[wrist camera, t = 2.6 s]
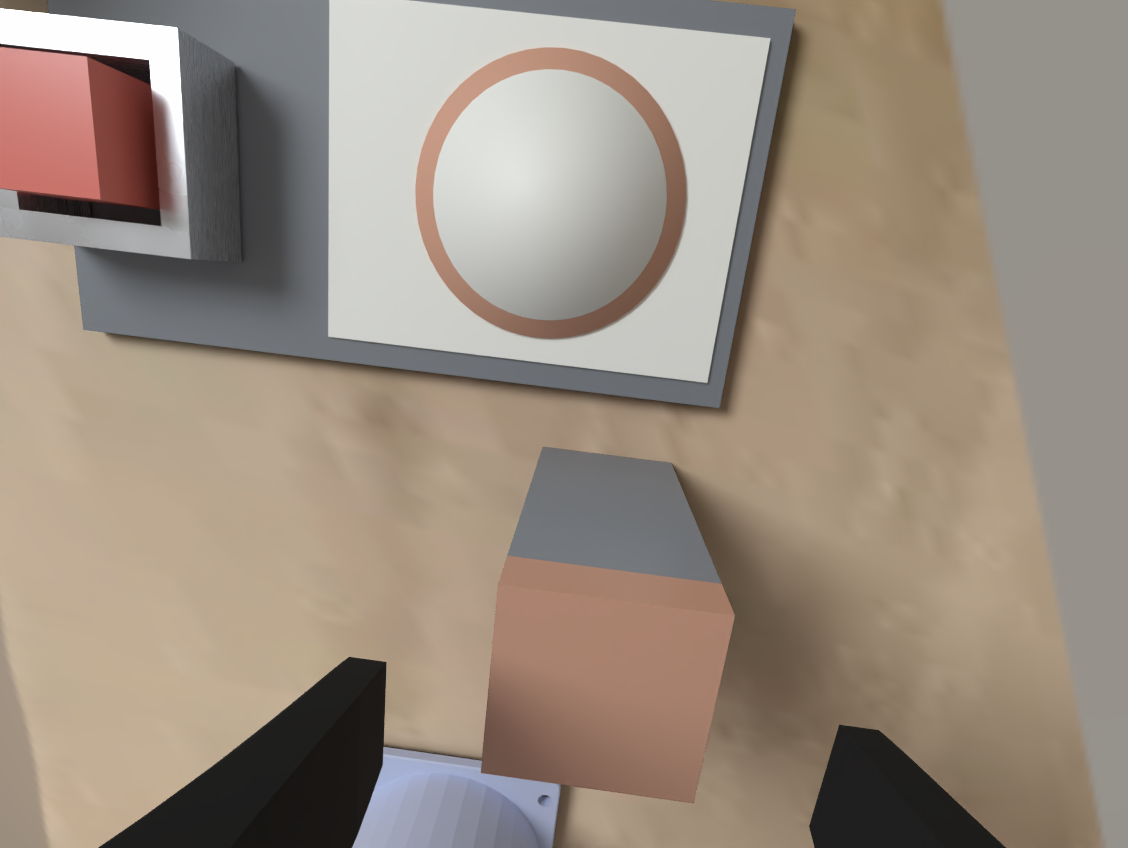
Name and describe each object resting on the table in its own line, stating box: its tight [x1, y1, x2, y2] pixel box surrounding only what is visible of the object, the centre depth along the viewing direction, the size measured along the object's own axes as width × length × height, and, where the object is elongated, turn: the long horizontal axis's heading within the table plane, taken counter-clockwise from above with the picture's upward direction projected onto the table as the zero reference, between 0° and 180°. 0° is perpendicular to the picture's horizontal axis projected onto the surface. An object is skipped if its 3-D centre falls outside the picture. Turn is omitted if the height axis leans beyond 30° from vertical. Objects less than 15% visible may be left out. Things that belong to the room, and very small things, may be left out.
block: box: [481, 447, 735, 803], centre depth 14 cm, size 4×4×8 cm
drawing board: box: [47, 0, 796, 408], centre depth 15 cm, size 10×19×1 cm, turn 84°
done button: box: [0, 47, 160, 210], centre depth 13 cm, size 3×3×2 cm
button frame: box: [0, 9, 242, 262], centre depth 14 cm, size 5×5×2 cm
